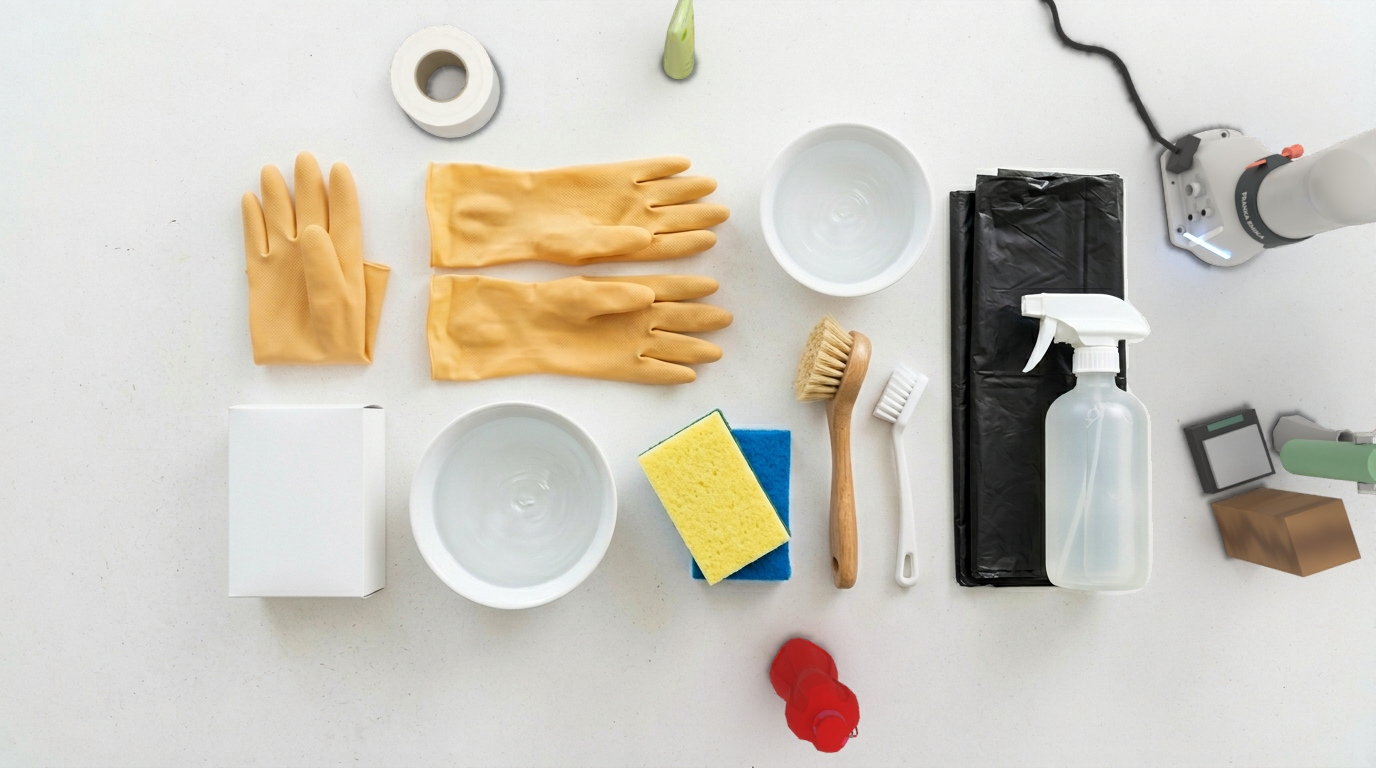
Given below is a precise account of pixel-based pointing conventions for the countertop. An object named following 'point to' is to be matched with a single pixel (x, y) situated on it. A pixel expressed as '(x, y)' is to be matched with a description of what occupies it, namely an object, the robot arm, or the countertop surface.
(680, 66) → the tube
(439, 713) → the countertop surface
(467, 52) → the tape roll
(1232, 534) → the brown wooden block
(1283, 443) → the flask
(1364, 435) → the robot arm
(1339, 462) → the green bottle
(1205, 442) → the scale
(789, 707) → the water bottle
